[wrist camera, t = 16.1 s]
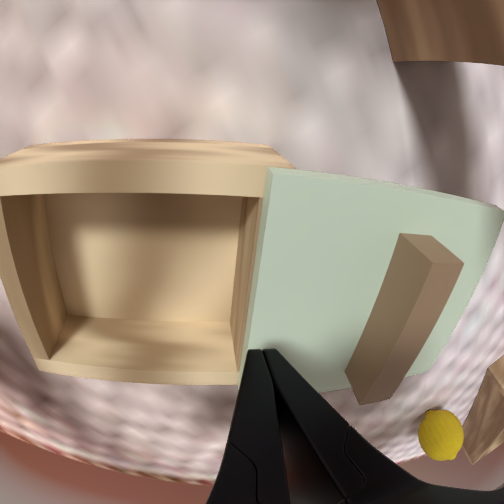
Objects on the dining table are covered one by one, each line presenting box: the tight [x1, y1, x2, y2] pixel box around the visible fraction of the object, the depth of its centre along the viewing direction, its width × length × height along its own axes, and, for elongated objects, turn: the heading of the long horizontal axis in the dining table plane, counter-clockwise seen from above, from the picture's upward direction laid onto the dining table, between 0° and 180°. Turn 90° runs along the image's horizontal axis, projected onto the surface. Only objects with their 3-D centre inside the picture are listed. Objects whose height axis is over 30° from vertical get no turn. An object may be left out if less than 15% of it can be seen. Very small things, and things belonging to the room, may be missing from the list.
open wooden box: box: [0, 139, 296, 385], centre depth 12 cm, size 11×10×4 cm
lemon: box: [418, 410, 464, 461], centre depth 27 cm, size 6×6×8 cm
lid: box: [238, 167, 504, 405], centre depth 11 cm, size 11×10×3 cm
